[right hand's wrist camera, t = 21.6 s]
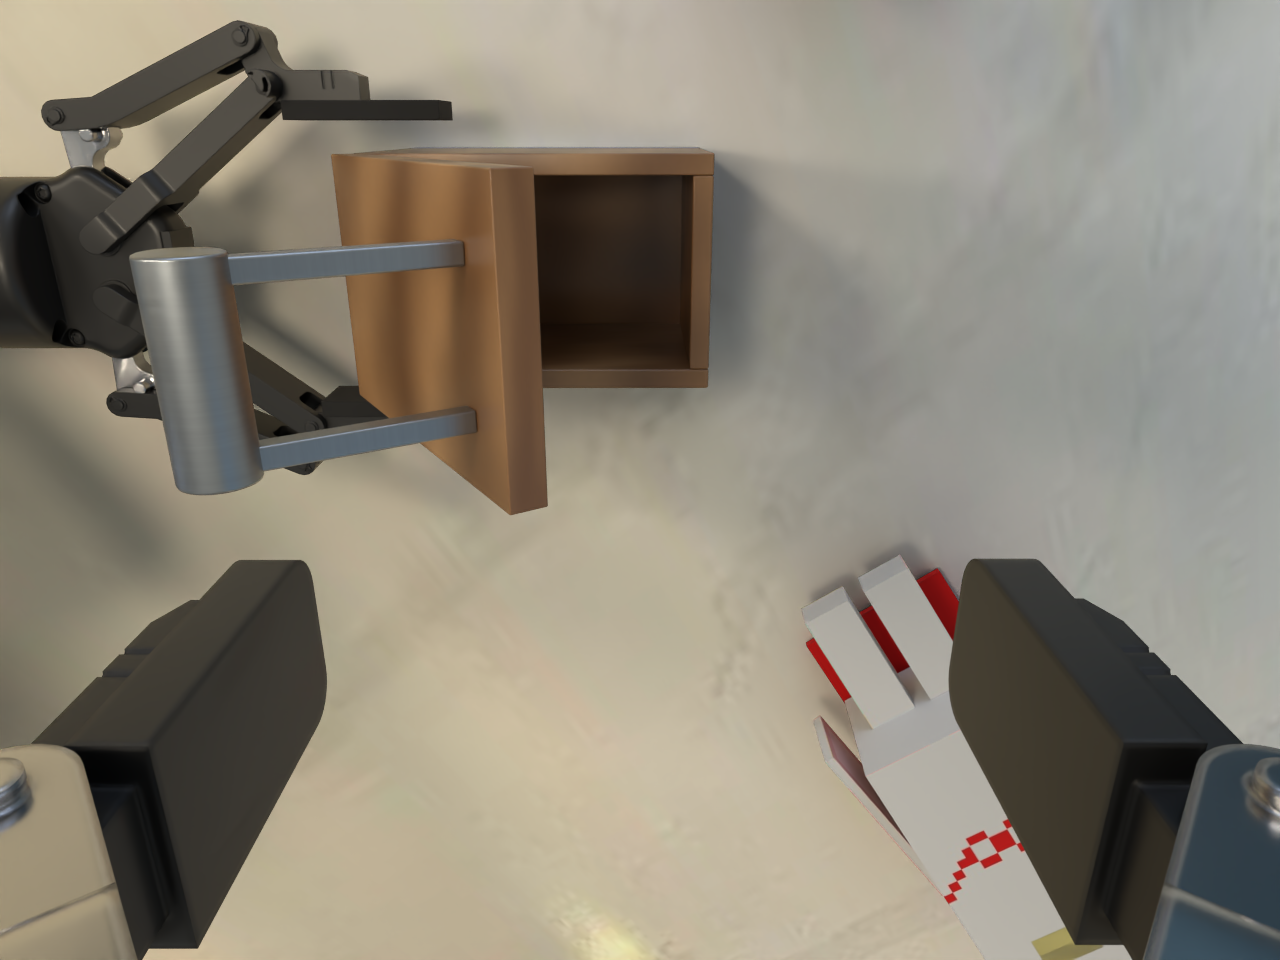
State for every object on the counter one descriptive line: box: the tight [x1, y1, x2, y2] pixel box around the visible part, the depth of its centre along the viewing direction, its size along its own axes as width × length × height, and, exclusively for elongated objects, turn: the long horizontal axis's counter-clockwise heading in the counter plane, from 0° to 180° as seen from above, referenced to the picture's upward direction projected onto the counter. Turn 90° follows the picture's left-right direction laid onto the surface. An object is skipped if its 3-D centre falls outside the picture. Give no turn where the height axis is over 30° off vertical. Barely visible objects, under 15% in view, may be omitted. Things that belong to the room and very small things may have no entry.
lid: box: [129, 154, 548, 515], centre depth 28 cm, size 15×10×9 cm
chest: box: [354, 147, 714, 388], centre depth 42 cm, size 14×10×11 cm
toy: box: [801, 555, 1132, 960], centre depth 53 cm, size 12×13×30 cm
